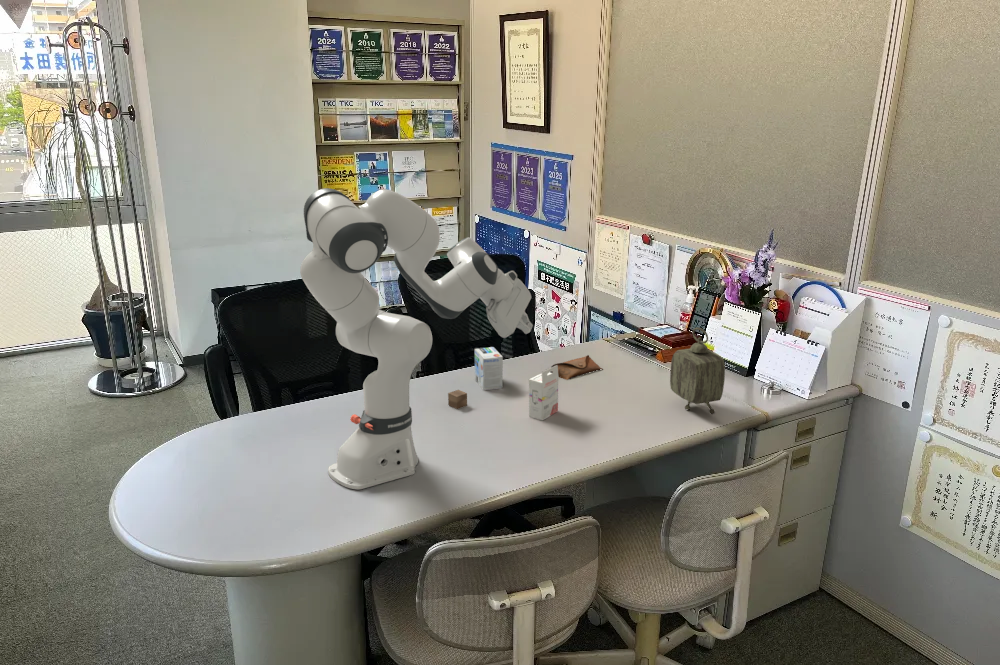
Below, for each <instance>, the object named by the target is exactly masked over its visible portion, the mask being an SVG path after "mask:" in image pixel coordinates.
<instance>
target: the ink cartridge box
mask: <svg viewBox="0 0 1000 665" xmlns="http://www.w3.org/2000/svg"><path fill="white" fill-rule="evenodd" d="M550 371H553V373H550ZM558 376H559V375H558V365H556V366H554V367H552V366H550V368H548V369H546V370H544V371H542V372H541V373H539V374H537V375H535V376H533V377H531V378H529V379H528V416H529V418H532V419H536V420H539V421H544V420H545V419H547V418H549V417H551V416H553V415H554V414H555V413H557V412H559V377H558Z"/></svg>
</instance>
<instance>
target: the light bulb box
mask: <svg viewBox="0 0 1000 665" xmlns="http://www.w3.org/2000/svg"><path fill="white" fill-rule="evenodd" d="M503 358H504V357H503V355H502V354H501V353H500V352H499V351H498V350H497V349H496V348H495V347H494V346H490V347H483V348H482V347H481V348H474V380H475V382H476V383H477V384H478V386H479V387H480V388H481V389H482V391H489V390H497V389H498V390H499V389H500V390H501V389H503V371H504V370H503V364H504V363H503V360H504V359H503Z"/></svg>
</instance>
